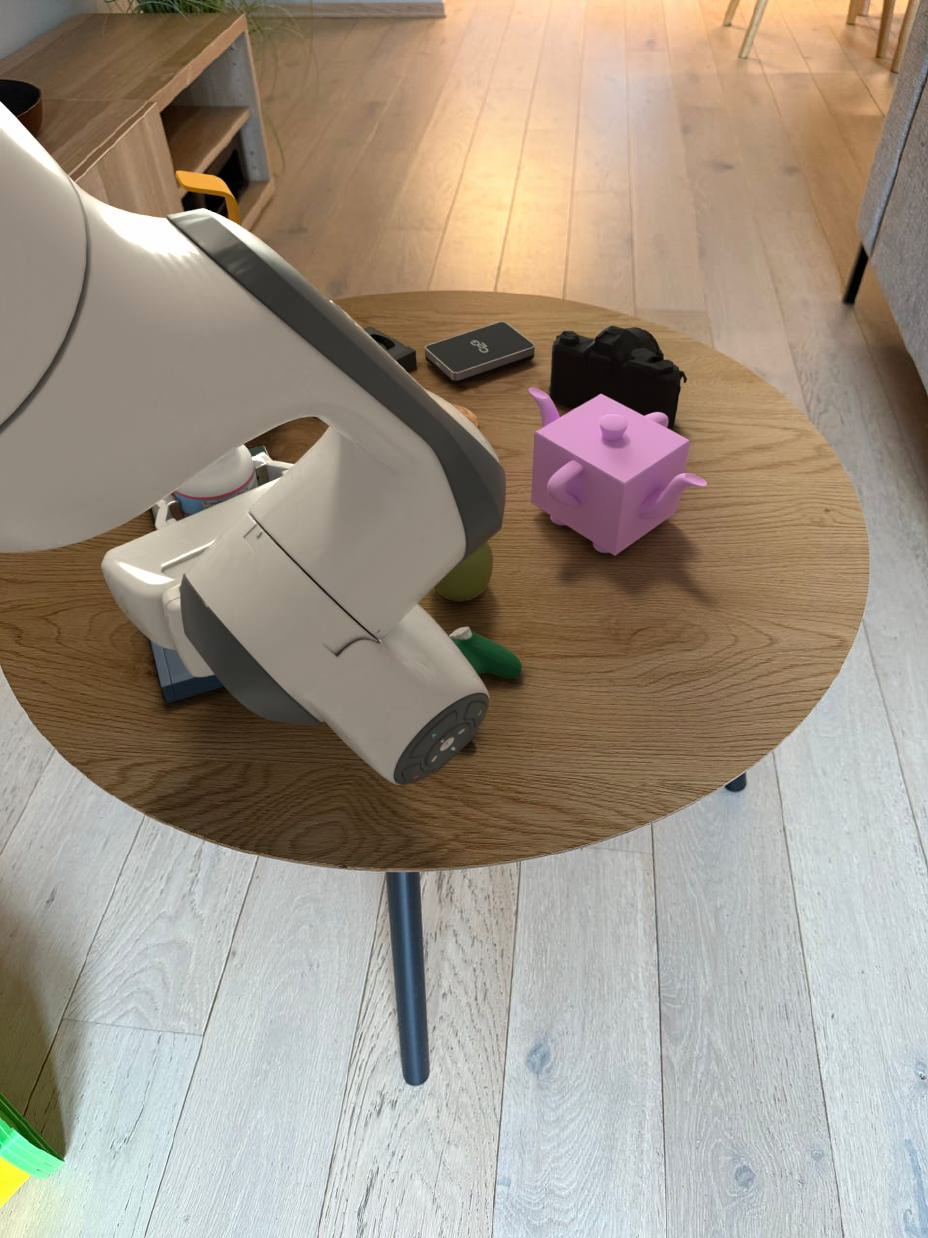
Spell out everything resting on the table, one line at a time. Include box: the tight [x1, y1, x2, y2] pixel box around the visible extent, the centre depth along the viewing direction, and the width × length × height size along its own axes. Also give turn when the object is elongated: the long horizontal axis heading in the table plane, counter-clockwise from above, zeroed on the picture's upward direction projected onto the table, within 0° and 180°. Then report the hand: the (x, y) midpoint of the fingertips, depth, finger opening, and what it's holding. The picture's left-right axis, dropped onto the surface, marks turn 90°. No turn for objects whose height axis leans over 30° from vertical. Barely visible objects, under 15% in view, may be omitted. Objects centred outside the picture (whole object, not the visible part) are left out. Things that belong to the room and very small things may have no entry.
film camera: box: [548, 325, 688, 431], centre depth 99 cm, size 15×10×9 cm, turn 56°
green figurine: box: [433, 540, 494, 602], centre depth 79 cm, size 6×5×10 cm
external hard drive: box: [424, 321, 536, 386], centre depth 107 cm, size 7×11×2 cm, turn 122°
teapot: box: [528, 387, 708, 556], centre depth 85 cm, size 15×13×11 cm
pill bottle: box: [172, 444, 259, 518], centre depth 69 cm, size 6×6×11 cm
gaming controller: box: [448, 626, 523, 747], centre depth 73 cm, size 9×4×6 cm
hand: (208, 481), depth 69 cm, fingers closed on pill bottle, 6 cm apart
